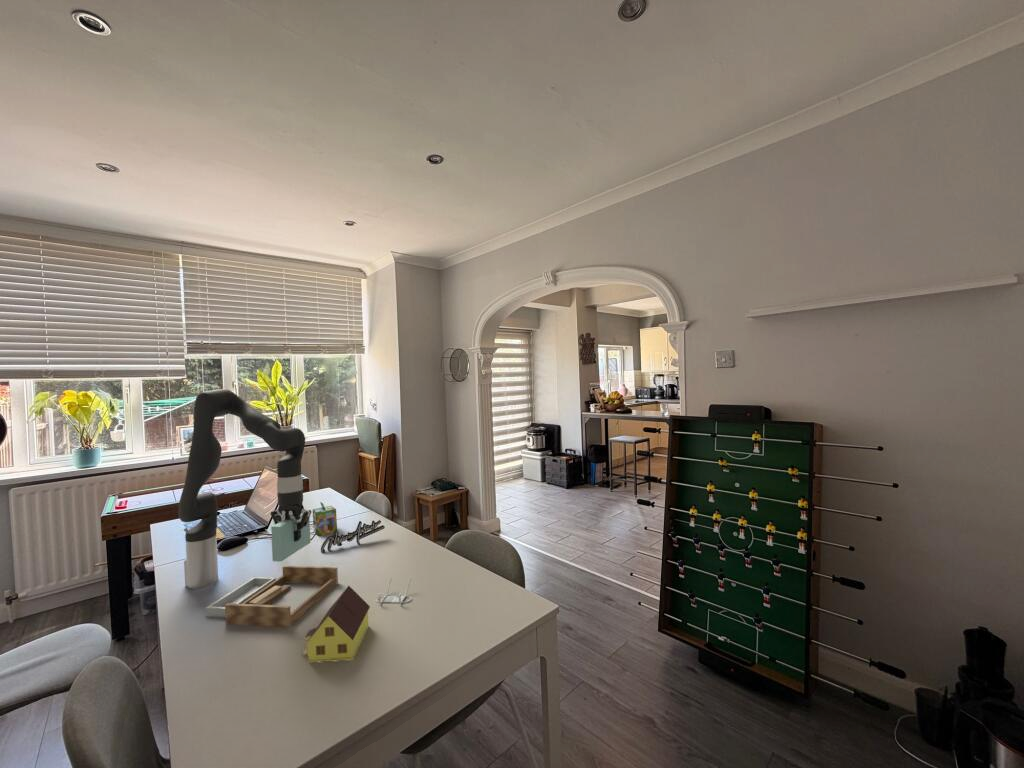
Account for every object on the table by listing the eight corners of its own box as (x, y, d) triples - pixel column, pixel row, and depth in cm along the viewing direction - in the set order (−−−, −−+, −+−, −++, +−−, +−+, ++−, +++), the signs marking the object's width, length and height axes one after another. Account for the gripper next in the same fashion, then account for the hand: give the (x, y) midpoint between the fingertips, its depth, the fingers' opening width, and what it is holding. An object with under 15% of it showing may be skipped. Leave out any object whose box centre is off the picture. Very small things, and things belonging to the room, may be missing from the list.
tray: (206, 617, 133) (205, 607, 133) (254, 585, 154) (254, 577, 153) (230, 618, 132) (230, 608, 132) (276, 586, 152) (275, 577, 152)
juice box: (337, 532, 205) (336, 502, 205) (317, 537, 200) (316, 506, 200) (332, 527, 213) (331, 498, 213) (313, 532, 207) (311, 502, 207)
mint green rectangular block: (272, 561, 133) (271, 526, 133) (302, 542, 148) (301, 511, 147) (281, 561, 132) (279, 526, 132) (310, 542, 147) (309, 511, 147)
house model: (287, 673, 106) (285, 623, 106) (319, 626, 126) (317, 585, 126) (360, 667, 108) (358, 618, 107) (380, 622, 128) (378, 581, 127)
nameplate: (324, 560, 181) (317, 539, 179) (323, 559, 182) (317, 538, 181) (386, 532, 195) (380, 512, 193) (385, 531, 196) (379, 511, 195)
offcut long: (243, 619, 132) (243, 612, 132) (284, 590, 150) (284, 584, 150) (250, 620, 132) (249, 613, 131) (290, 591, 149) (290, 585, 149)
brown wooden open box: (225, 624, 129) (224, 605, 129) (284, 581, 155) (284, 565, 155) (288, 627, 126) (288, 607, 126) (338, 583, 153) (337, 567, 152)
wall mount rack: (371, 606, 136) (371, 592, 136) (384, 590, 147) (383, 577, 147) (408, 606, 135) (407, 593, 135) (418, 590, 146) (417, 577, 146)
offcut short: (249, 607, 135) (249, 602, 135) (275, 590, 145) (275, 585, 145) (255, 608, 134) (255, 602, 134) (281, 591, 145) (281, 586, 145)
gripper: (262, 491, 137) (264, 544, 137) (302, 492, 135) (304, 545, 135) (278, 486, 144) (280, 535, 145) (316, 486, 142) (318, 536, 143)
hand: (292, 540), depth 140 cm, fingers closed on mint green rectangular block, 3 cm apart
